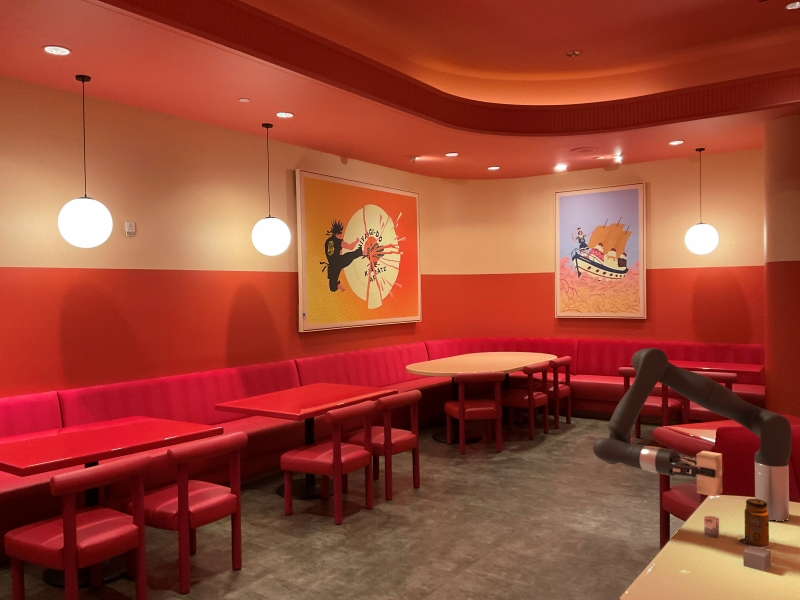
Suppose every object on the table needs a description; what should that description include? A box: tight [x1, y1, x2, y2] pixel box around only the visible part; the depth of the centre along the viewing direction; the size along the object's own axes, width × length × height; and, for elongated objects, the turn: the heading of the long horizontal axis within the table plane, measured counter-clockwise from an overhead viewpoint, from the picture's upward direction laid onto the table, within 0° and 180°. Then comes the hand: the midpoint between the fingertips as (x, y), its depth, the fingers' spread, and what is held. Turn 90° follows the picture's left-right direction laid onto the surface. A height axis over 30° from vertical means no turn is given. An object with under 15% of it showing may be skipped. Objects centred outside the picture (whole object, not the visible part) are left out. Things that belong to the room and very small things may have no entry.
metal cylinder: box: [703, 515, 720, 539], centre depth 187 cm, size 4×4×5 cm
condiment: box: [734, 498, 776, 550], centre depth 180 cm, size 7×8×12 cm
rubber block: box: [742, 546, 772, 573], centre depth 166 cm, size 5×5×4 cm
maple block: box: [695, 450, 723, 498], centre depth 178 cm, size 5×5×11 cm
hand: (719, 471), depth 176 cm, fingers closed on maple block, 5 cm apart
